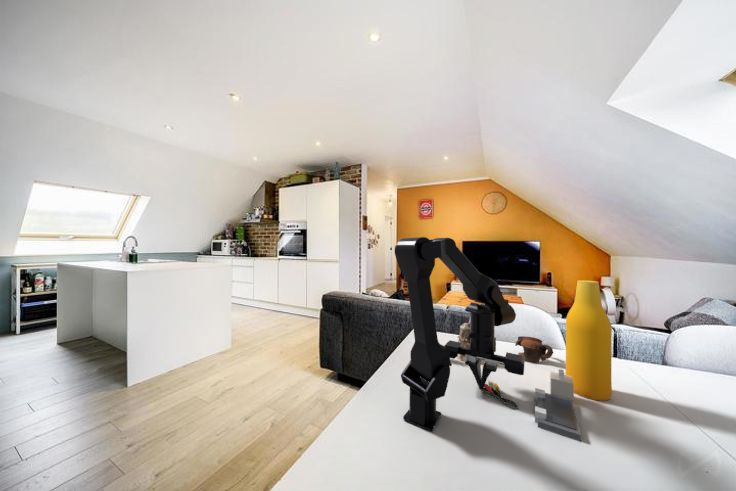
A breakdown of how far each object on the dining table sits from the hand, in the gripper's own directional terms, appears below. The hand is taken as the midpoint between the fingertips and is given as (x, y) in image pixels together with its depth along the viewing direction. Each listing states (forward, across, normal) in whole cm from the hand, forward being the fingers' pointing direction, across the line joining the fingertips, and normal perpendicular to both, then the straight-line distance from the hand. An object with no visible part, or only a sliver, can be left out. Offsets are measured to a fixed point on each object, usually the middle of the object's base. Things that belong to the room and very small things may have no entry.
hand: (481, 389), depth 66 cm
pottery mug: (+1, -11, -33) cm, 35 cm away
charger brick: (+1, -17, -9) cm, 20 cm away
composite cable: (+2, -4, 0) cm, 4 cm away
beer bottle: (+1, -23, -17) cm, 29 cm away
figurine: (+1, +8, -20) cm, 22 cm away
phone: (+1, -16, 0) cm, 16 cm away
